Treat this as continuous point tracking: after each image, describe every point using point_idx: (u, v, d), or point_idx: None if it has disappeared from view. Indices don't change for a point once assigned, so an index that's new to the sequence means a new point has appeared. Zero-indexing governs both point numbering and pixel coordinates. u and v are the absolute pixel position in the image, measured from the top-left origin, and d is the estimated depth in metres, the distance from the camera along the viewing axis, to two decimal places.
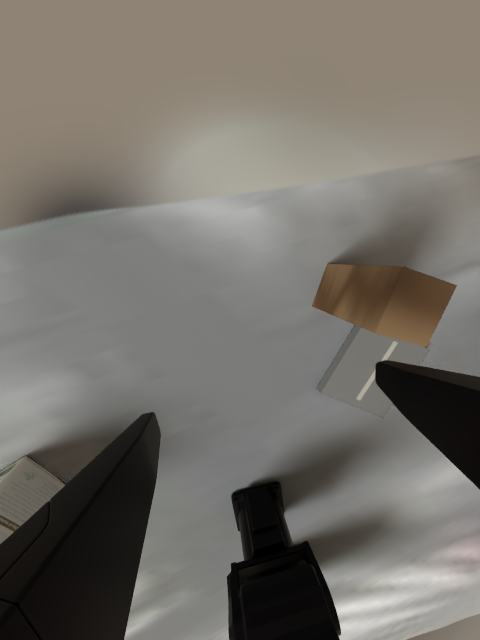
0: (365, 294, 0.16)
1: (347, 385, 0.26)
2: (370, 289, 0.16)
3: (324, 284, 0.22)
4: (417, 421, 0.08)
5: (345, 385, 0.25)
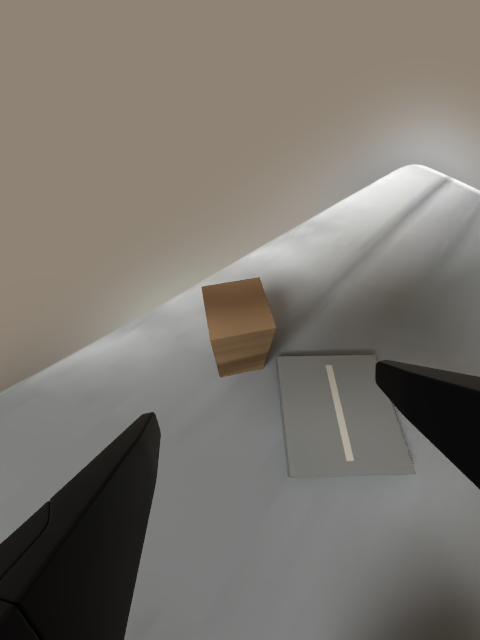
0: None
1: (318, 446, 0.18)
2: None
3: None
4: (417, 421, 0.08)
5: (315, 447, 0.18)
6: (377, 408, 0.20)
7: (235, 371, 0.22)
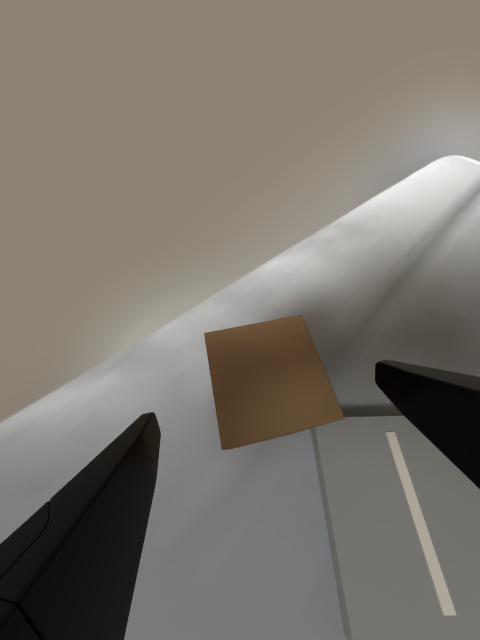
0: None
1: (393, 584, 0.11)
2: None
3: None
4: (417, 421, 0.08)
5: (389, 586, 0.11)
6: (475, 509, 0.13)
7: None
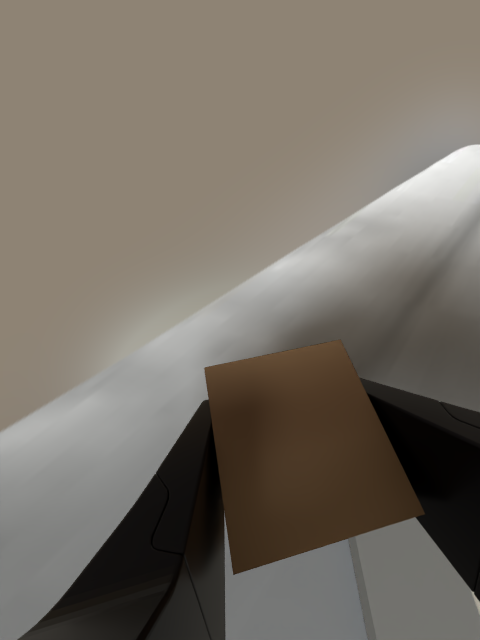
0: None
1: None
2: None
3: None
4: None
5: None
6: None
7: None
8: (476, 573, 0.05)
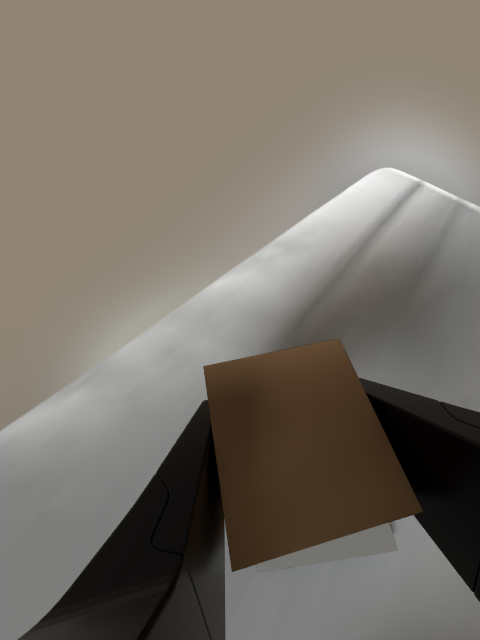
0: None
1: None
2: None
3: None
4: None
5: None
6: None
7: None
8: (477, 573, 0.05)
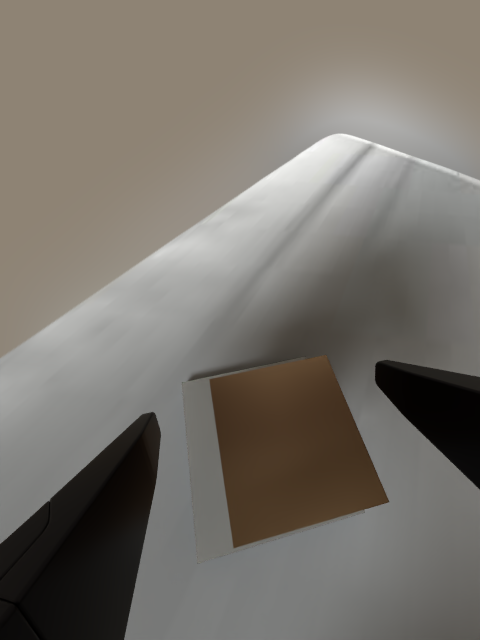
0: None
1: None
2: None
3: None
4: (417, 421, 0.08)
5: None
6: None
7: None
8: None
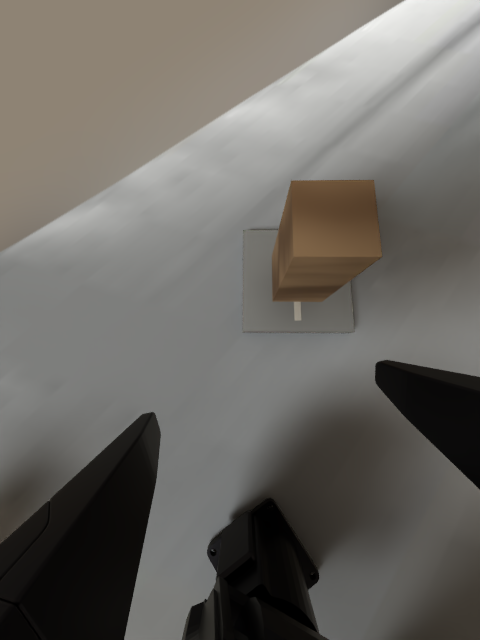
0: (285, 238, 0.14)
1: (271, 308, 0.20)
2: (285, 229, 0.14)
3: (273, 272, 0.20)
4: (417, 421, 0.08)
5: (268, 309, 0.20)
6: None
7: (292, 298, 0.19)
8: None
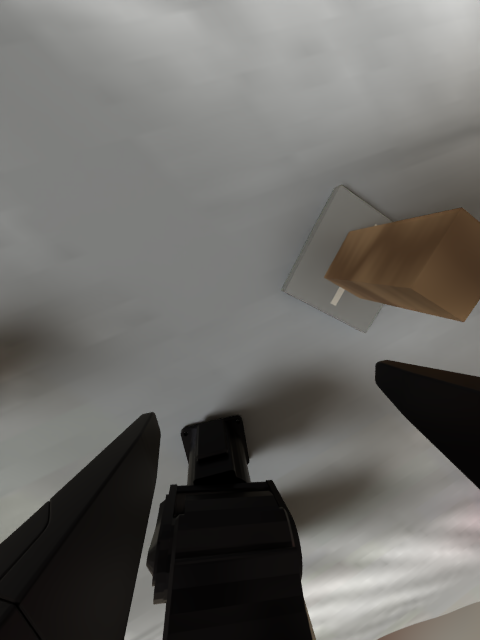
0: (400, 250, 0.14)
1: (318, 283, 0.21)
2: (407, 242, 0.13)
3: (343, 252, 0.19)
4: (417, 421, 0.08)
5: (316, 283, 0.20)
6: None
7: (343, 286, 0.20)
8: None
